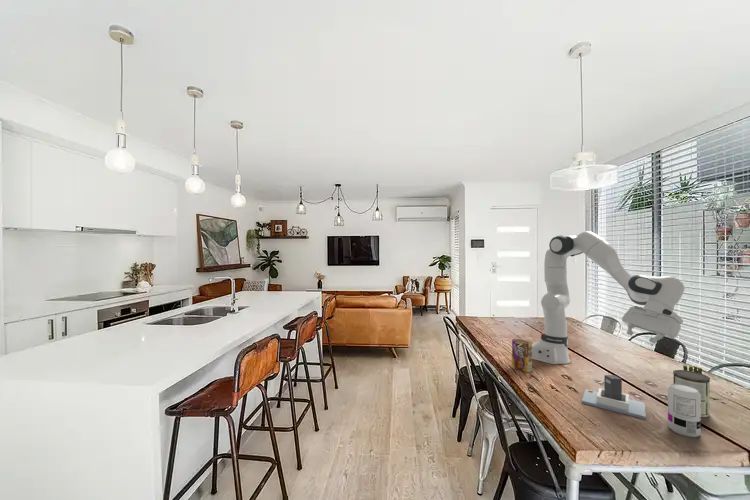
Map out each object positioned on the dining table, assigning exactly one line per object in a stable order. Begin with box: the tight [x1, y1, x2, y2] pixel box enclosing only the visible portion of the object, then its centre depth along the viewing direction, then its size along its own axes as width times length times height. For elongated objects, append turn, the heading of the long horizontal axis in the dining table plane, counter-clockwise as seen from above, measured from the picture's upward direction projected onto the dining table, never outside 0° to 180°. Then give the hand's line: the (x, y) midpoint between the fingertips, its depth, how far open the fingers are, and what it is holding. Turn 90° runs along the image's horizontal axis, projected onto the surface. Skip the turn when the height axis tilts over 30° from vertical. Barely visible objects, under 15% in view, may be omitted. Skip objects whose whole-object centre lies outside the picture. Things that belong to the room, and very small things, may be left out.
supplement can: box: [667, 383, 702, 438], centre depth 111 cm, size 8×8×15 cm
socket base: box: [581, 387, 647, 420], centre depth 130 cm, size 20×14×4 cm
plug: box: [603, 374, 623, 401], centre depth 130 cm, size 4×4×10 cm
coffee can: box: [672, 369, 711, 418], centre depth 125 cm, size 10×10×14 cm
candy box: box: [511, 338, 533, 373], centre depth 168 cm, size 9×4×15 cm, turn 39°
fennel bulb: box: [682, 364, 703, 374], centre depth 141 cm, size 6×5×12 cm
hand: (640, 338), depth 137 cm, fingers open, 8 cm apart
